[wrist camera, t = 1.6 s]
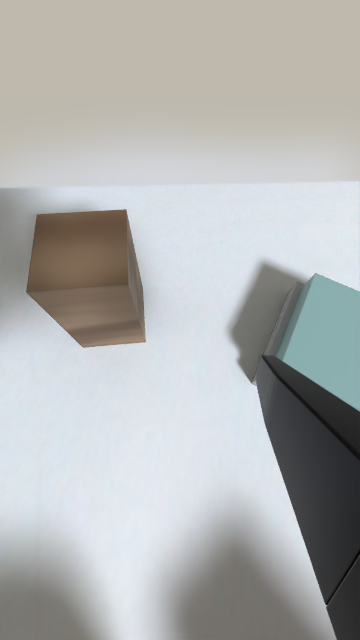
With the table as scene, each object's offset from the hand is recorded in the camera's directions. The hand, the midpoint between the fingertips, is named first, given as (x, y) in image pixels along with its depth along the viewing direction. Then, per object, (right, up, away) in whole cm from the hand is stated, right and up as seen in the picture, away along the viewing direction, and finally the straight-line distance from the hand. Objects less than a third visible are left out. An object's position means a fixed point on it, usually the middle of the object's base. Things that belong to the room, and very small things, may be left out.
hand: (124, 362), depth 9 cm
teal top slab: (+15, -1, +13) cm, 20 cm away
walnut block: (-4, +2, +16) cm, 17 cm away
